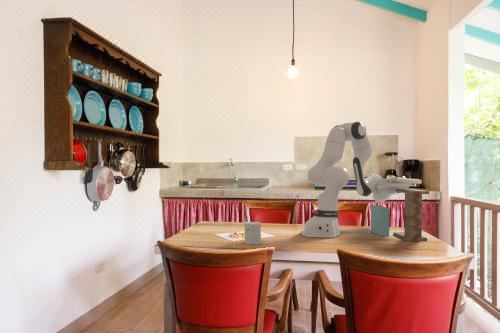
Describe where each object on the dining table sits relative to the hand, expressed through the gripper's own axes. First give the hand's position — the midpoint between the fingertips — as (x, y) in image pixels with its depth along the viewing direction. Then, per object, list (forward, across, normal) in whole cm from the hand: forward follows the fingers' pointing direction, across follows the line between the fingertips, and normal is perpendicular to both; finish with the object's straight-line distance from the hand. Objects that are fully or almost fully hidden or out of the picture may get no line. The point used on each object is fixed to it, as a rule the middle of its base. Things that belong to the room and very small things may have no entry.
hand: (399, 177), depth 188 cm
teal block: (-18, -11, +27) cm, 34 cm away
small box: (-5, -87, +35) cm, 94 cm away
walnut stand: (-7, 0, +34) cm, 35 cm away
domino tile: (+4, 0, +5) cm, 7 cm away
